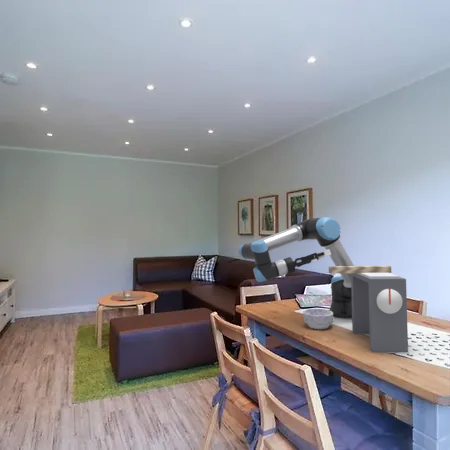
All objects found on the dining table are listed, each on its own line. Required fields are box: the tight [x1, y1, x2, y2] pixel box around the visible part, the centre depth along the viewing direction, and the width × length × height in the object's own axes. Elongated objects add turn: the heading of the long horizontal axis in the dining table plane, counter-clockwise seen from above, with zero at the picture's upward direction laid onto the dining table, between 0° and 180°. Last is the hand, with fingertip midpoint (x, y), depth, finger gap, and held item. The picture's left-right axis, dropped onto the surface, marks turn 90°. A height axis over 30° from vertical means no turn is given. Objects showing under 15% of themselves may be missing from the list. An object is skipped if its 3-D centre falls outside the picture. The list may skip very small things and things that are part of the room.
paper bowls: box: [302, 308, 334, 330], centre depth 176 cm, size 15×15×8 cm
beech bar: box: [328, 265, 392, 274], centre depth 160 cm, size 28×3×3 cm, turn 85°
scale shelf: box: [351, 272, 409, 353], centre depth 151 cm, size 14×29×31 cm, turn 175°
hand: (326, 253), depth 164 cm, fingers open, 13 cm apart
